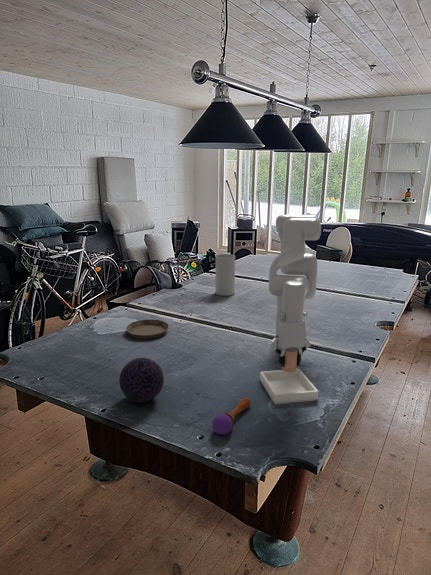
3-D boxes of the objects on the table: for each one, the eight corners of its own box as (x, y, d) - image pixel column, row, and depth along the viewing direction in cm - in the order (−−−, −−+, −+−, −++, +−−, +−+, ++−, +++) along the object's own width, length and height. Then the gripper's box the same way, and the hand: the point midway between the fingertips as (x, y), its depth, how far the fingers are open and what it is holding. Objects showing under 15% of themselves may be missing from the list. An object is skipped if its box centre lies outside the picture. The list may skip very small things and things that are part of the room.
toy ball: (166, 388, 151) (164, 350, 147) (162, 410, 137) (160, 369, 133) (124, 388, 151) (122, 350, 147) (116, 411, 136) (114, 370, 132)
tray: (259, 380, 157) (260, 371, 156) (298, 376, 160) (299, 368, 159) (274, 404, 141) (275, 395, 140) (317, 400, 144) (318, 391, 143)
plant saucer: (161, 342, 192) (160, 335, 192) (119, 338, 196) (119, 332, 195) (174, 327, 212) (174, 321, 211) (136, 324, 216) (135, 318, 215)
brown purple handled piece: (256, 398, 138) (228, 424, 120) (251, 413, 139) (224, 441, 122) (240, 390, 140) (211, 415, 123) (236, 405, 142) (207, 432, 125)
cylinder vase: (237, 292, 272) (238, 255, 266) (228, 297, 262) (228, 258, 255) (221, 289, 279) (222, 253, 272) (211, 294, 268) (211, 256, 262)
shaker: (280, 366, 150) (281, 343, 147) (293, 365, 151) (294, 342, 148) (284, 373, 145) (286, 349, 142) (298, 371, 146) (300, 348, 143)
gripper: (311, 311, 147) (307, 358, 152) (265, 314, 144) (263, 362, 149) (320, 318, 140) (316, 367, 145) (272, 321, 137) (270, 371, 142)
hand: (289, 364), depth 147 cm, fingers closed on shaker, 5 cm apart
